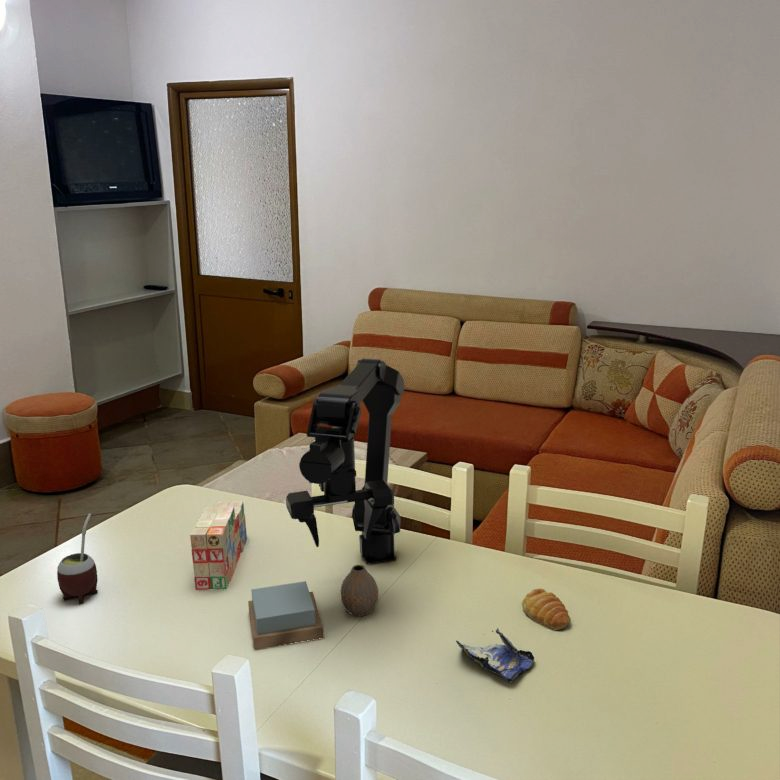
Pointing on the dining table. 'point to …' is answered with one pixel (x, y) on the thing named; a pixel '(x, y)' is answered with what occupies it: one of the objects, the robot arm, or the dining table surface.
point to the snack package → (502, 658)
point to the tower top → (283, 607)
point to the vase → (359, 591)
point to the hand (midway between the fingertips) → (341, 541)
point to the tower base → (286, 631)
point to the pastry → (546, 609)
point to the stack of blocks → (218, 544)
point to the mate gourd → (77, 574)
